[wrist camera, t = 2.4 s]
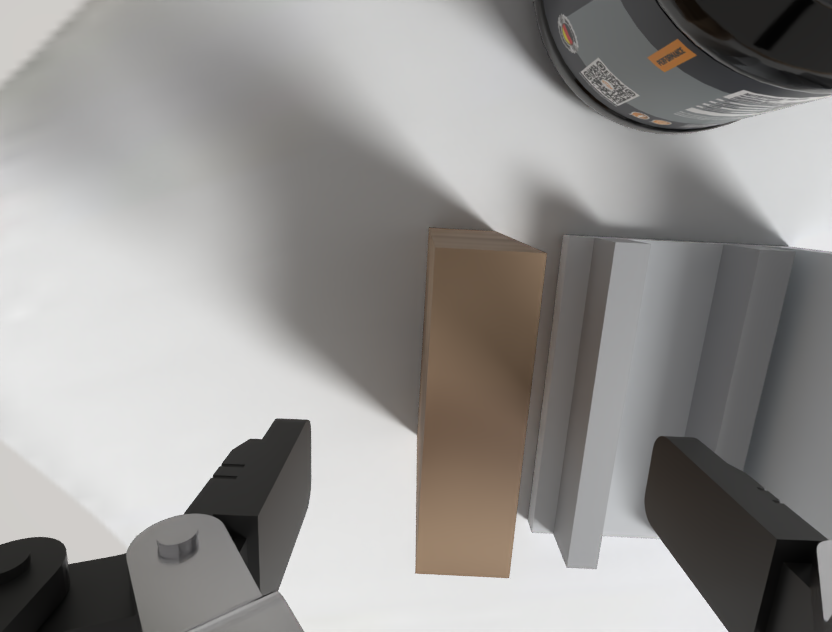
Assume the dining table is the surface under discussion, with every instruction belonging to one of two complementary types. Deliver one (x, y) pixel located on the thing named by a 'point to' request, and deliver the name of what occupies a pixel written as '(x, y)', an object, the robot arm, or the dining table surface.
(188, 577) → the robot arm
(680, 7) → the supplement container
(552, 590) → the dining table surface
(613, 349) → the grey channel holder
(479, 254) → the brown rectangular block
